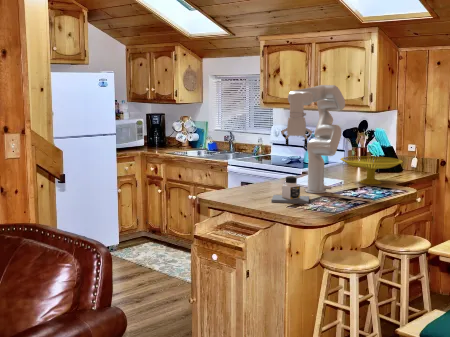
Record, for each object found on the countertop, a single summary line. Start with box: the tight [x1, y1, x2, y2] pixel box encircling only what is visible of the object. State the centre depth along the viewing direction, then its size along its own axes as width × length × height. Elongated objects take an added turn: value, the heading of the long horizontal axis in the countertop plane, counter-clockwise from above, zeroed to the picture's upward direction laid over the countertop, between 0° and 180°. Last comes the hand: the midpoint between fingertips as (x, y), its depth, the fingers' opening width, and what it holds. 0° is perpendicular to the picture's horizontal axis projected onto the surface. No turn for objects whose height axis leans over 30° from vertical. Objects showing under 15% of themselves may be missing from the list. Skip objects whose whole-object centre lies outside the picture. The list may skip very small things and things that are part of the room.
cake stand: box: [340, 155, 404, 185], centre depth 390 cm, size 40×40×15 cm
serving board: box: [270, 194, 310, 205], centre depth 330 cm, size 20×14×2 cm
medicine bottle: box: [281, 175, 301, 199], centre depth 329 cm, size 7×7×12 cm
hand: (296, 146), depth 330 cm, fingers open, 9 cm apart
